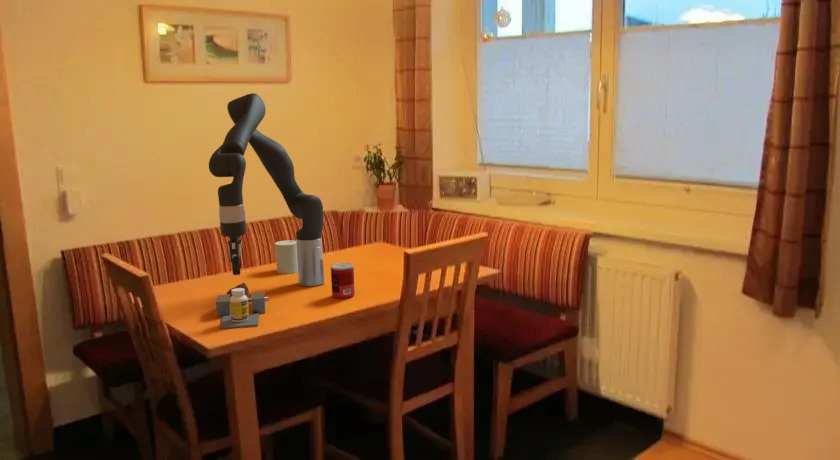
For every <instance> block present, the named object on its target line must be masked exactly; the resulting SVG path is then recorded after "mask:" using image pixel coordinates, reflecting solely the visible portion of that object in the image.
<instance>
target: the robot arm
mask: <svg viewBox="0 0 840 460" xmlns="http://www.w3.org/2000/svg"><path fill="white" fill-rule="evenodd" d="M226 107H227V112H228V116H229V118H230V119H231V120H232V122H233V126H232V127H231V128H230V129H229V130H228V132H227V133H226V135H225V138H224V140H223V141H222V144H221V145H220V146H219V147H218V148H217V149H216V150H215V151H214V152H213V153H212V154H211V156H210V157H209V161H208V170H209V172H210V174H211V175H212V176H214V177H215V178H232V181H231V182H230V183H228V184H227V183H226V184H223V185H220V186H219V187H218V190H217V196H218V197H217V198H218V205H219V206H218V215H219V216H218V218H219V228H220V234H221V236H222V237H226V238H229V240H227V248H228V255H229V257H230V260H229V261H230V263H231V269H232V275H234V276H240V275H241V268H242V257H241V256H242V249H243V248H242V247H243V246H242V245H243V241H242V239H240V237H242V236H244V235H246V234H247V225H246V223H247V221H246V212H245V207H244V200H243V199H244V198H243V197H244V196H243V186H244V185H243V184H244V177H245V173H246V168H247V161H246V159H245V157H244V155H245V153H246V150H247V148H248V145H250V146H251V148H252V149H253V151H254V152H255V154H256V156H257V157H258V159H259V161H260V162H261V164H262V165H263V167H264V168H265V170H266V172H267V173H268V174H269V176H270V178H271V179H272V180H273V182H274V184H275V186H276V187H277V188H278V191H279V192H280V193H281V195H282V197H283V199H284V202H285V203H286V205H287V208H288V210H289V211H290V213H291V214H292V215H293V217H295V218H297V219H298V220H299V219H300V220H302V227H301V228H299V229H297V230H296V232H295V241H296V244H297V260H298V272H297V274H298V275H297V276H298V286H301V287H317V286H321V285H325V274H324V273H325V271H324V268H325V267H324V258H323V256H324V255H323V241H322V240H323V239H322V232H323V230H324V206H323V202H322V199H320V197H318V196H317V195H313V194H305V192H304V191H303V190H302V189H301V187H300V186H299V184H298V183H297V181H296V178H295V167H294V164H293V160H292V159H291V157H290V155H289V154H288V152H287V150H286V149H285V148H284V146H283V145H282V144H280V143H279V142H278V141H275V140H273V139H272V138H270V137H269V136H267V135H265V134H263V133H262V132H261V131H259V130H258V129H257V128H258V127H259V125H260V124H261V122H262V121H263V120H264V118H265V116H266V110H267V109H266V104H265V102H264V100H263V99H262V97H261V96H260V95H259V94H257V93H255V92H254V93H253V92H252V93H251V92H250V93H248V94H247V93H246V94H245V95H242V96H240V97H237V98H234V99H232V100H230V101H229V102H227V105H226Z"/></svg>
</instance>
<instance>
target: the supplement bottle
mask: <svg viewBox="0 0 840 460" xmlns="http://www.w3.org/2000/svg"><path fill="white" fill-rule="evenodd" d="M231 289H232V288H231ZM231 292H232V295H233V296H232V297H230V312H231V314H230V316H231V321H233V322H244V321H247V320H248V319H249V314H250V313H249V302H248V298H249V297H248V295H247V296H246V295H244V294H245V289H244V288H235V289H232V290H231Z"/></svg>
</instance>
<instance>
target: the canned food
mask: <svg viewBox="0 0 840 460" xmlns="http://www.w3.org/2000/svg"><path fill="white" fill-rule="evenodd" d="M330 277H331V280H330V281H331V295H332V297H333V299H335V300H347V299H352V298H354V296H355V294H356V293H355V291H356V290H355V269H354V264H353V263H350V262H338V263H334V264H332V265H330ZM351 297H352V298H351Z"/></svg>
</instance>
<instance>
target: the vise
mask: <svg viewBox="0 0 840 460" xmlns="http://www.w3.org/2000/svg"><path fill="white" fill-rule="evenodd" d="M265 295H266V294H265V291H256V292H255V291H254V292H251V297H247V298H248V303H251V309H252V310H251V311H252V313H251V314H256V313H259V315H260V314H266V302H269V297H268V296H265ZM215 309H216V310H215V311H216V317H217V318H223V316H231V312H230V294H218V295H217V297H216V300H215Z"/></svg>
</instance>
